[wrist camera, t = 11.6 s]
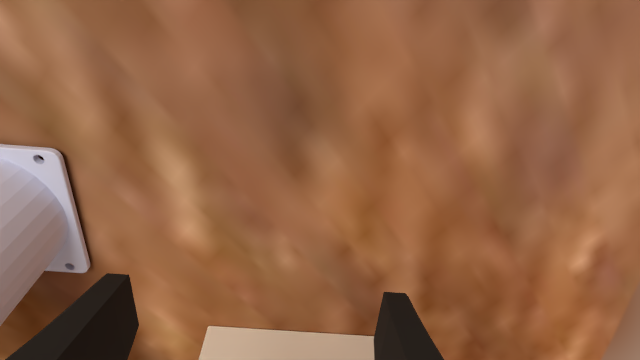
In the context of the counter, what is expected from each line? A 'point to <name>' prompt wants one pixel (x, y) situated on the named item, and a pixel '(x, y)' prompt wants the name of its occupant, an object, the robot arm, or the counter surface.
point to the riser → (283, 345)
